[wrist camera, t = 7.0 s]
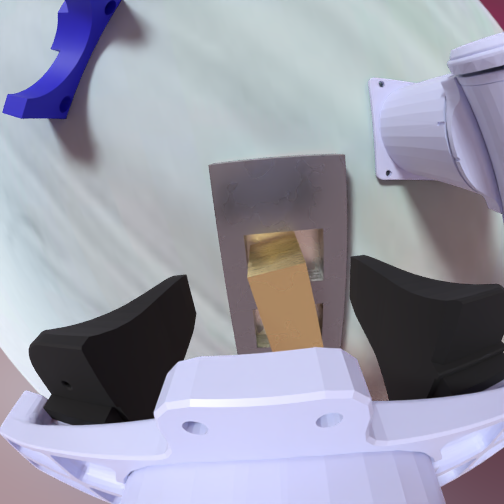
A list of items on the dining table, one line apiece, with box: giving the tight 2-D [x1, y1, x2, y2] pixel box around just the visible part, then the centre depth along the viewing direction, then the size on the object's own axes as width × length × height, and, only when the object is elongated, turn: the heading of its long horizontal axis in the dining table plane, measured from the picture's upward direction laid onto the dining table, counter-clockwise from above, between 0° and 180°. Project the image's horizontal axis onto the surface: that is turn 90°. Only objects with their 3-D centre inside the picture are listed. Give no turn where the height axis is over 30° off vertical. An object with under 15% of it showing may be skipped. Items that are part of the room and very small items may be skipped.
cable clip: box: [2, 0, 121, 119], centre depth 13 cm, size 12×4×6 cm, turn 156°
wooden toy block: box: [247, 234, 324, 352], centre depth 20 cm, size 4×8×6 cm, turn 16°
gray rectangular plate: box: [209, 154, 347, 355], centre depth 22 cm, size 9×20×2 cm, turn 6°
